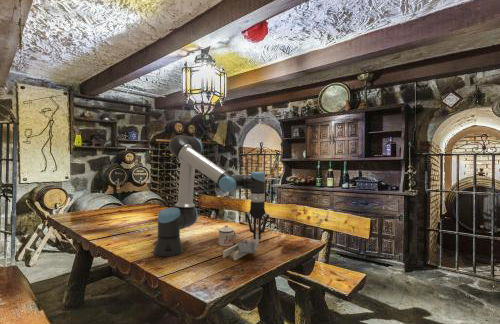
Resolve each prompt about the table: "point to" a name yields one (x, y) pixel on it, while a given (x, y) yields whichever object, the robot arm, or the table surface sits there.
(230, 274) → the table surface
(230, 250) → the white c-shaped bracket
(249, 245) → the cover
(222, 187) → the robot arm
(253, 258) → the table surface
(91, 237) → the table surface
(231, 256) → the dowel
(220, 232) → the teacup with lid
